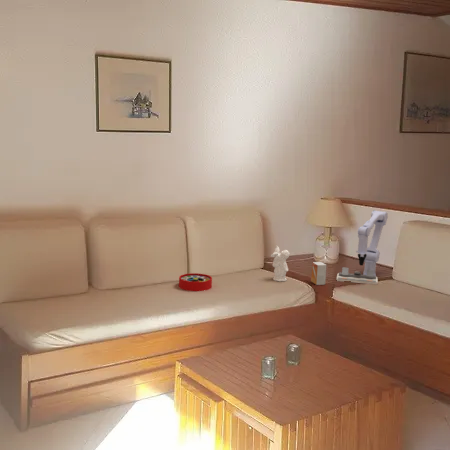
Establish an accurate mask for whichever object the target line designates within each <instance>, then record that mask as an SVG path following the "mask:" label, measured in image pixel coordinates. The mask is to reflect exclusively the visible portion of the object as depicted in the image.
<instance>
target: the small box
mask: <svg viewBox="0 0 450 450" xmlns="http://www.w3.org/2000/svg"><path fill="white" fill-rule="evenodd" d="M326 278H327V264H326V263H324V262H322V261H313V262H312V264H311V278H310V282H311V283H313V284H315V286H321V285H322V286H323V285H326Z"/></svg>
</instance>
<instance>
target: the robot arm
mask: <svg viewBox="0 0 450 450" xmlns="http://www.w3.org/2000/svg"><path fill="white" fill-rule="evenodd" d="M388 217H389V216H388V211H381V210H375V209H374V210H372V211H371V214H370V218H369V220H366V221H365V222H364V223H363V225H362V226H359V227H358V229H357V237H358V245H357V250H355V252H356V253H357V258H358V263H359V266H364V270H363V273H362V274H363V275H367V270H373V275H374V276H376V277H377V275H376V268H377V267H376V266H377V263H378V262H379V259H380V254H381V253H380V251H379V250H378V247H379V242H380V239H381V238H380V237H381V236H382V230H383V228H384V226H386V224H387V221H388ZM374 225H375V226H374ZM373 228H374V230H373V233H372V236H371V237H372V238H371V241H370V244H369V246H368V243H369V242H368V241H369V236H370V234H371V231H372V229H373Z"/></svg>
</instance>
